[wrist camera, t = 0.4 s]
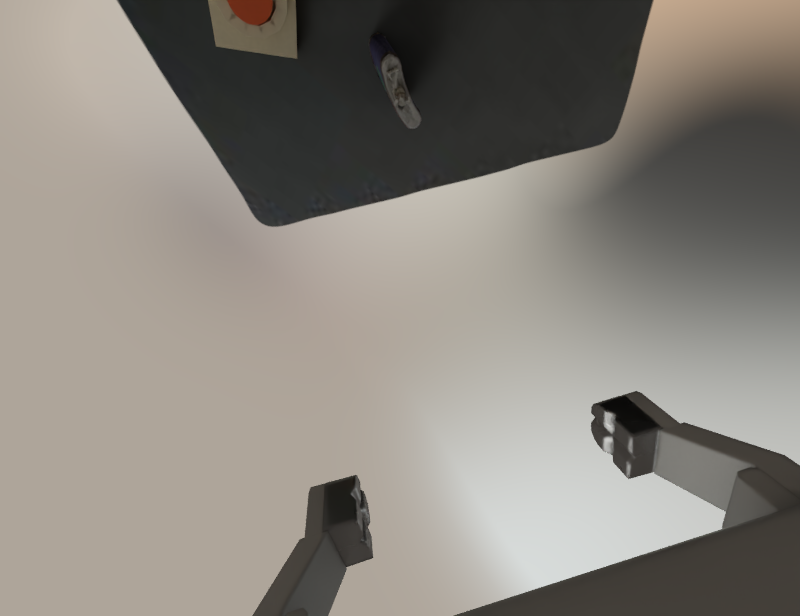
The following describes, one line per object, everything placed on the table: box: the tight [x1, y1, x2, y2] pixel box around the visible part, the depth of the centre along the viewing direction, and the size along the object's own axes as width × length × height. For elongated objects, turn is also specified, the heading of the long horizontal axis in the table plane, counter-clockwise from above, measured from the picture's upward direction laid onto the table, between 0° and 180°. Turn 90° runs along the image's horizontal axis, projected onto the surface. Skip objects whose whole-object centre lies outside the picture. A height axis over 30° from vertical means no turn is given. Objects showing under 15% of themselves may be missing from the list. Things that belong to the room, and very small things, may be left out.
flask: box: [369, 32, 422, 129], centre depth 45 cm, size 9×3×11 cm, turn 24°
